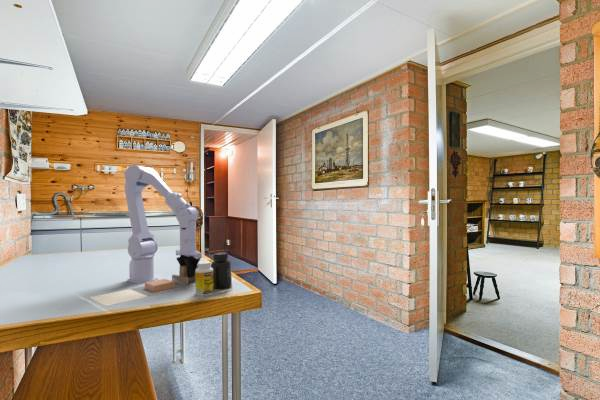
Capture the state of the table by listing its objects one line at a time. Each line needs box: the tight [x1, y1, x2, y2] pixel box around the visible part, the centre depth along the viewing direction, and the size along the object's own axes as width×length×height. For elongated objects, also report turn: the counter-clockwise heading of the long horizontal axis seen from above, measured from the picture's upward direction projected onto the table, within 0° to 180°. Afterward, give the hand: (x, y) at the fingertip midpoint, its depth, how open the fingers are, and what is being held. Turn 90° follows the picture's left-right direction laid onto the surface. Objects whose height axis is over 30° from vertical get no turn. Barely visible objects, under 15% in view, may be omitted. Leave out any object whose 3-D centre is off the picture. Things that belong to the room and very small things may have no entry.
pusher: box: [171, 265, 198, 286], centre depth 118 cm, size 7×9×6 cm
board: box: [89, 283, 194, 307], centre depth 106 cm, size 14×28×1 cm, turn 140°
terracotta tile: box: [144, 278, 174, 292], centre depth 110 cm, size 7×7×2 cm
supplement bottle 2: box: [211, 251, 233, 290], centre depth 110 cm, size 7×7×12 cm
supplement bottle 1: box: [194, 260, 214, 297], centre depth 103 cm, size 6×6×10 cm
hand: (188, 276), depth 118 cm, fingers closed on pusher, 3 cm apart
